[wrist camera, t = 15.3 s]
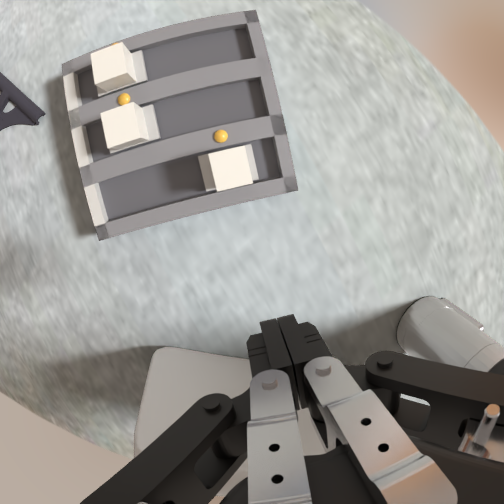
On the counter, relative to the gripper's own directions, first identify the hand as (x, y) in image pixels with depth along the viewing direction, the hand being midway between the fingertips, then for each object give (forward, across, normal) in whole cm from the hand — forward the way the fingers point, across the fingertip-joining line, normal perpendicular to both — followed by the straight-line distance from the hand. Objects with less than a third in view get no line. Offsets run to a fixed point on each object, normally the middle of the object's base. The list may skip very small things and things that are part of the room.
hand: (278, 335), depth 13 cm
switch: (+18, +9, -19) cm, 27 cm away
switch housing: (+21, +4, -13) cm, 26 cm away
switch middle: (+18, +8, -13) cm, 24 cm away
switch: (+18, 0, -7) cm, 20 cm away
